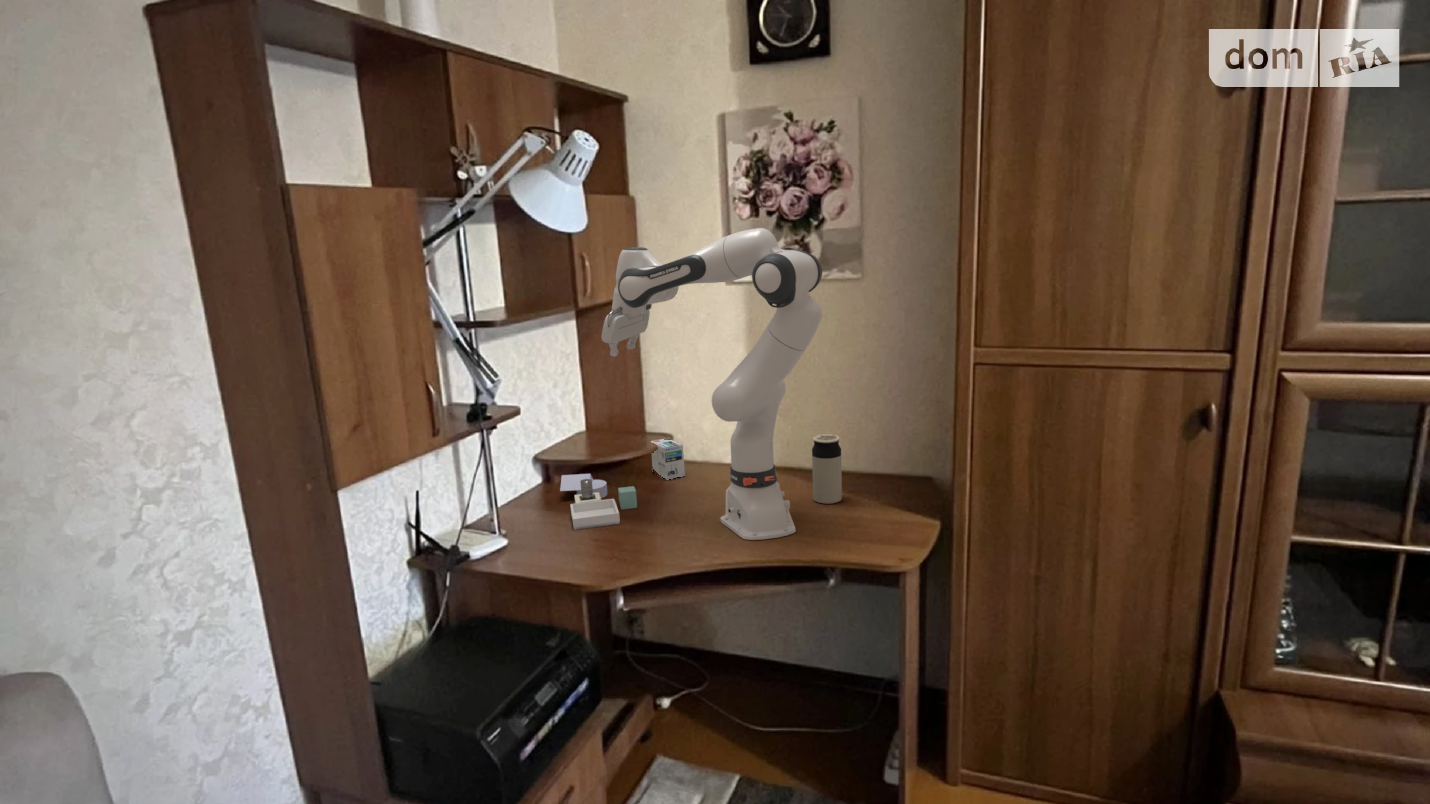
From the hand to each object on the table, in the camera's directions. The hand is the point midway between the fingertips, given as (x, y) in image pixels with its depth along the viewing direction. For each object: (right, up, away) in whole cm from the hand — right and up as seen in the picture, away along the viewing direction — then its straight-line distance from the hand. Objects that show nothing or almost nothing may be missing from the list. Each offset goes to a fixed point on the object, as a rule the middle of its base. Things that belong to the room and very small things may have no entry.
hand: (622, 352), depth 219 cm
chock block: (+2, -44, +1) cm, 44 cm away
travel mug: (+58, -42, -2) cm, 71 cm away
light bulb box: (+11, -38, +28) cm, 48 cm away
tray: (-7, -46, -8) cm, 47 cm away
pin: (-10, -44, +2) cm, 45 cm away
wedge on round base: (-12, -42, +12) cm, 46 cm away
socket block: (-10, -44, +2) cm, 45 cm away
